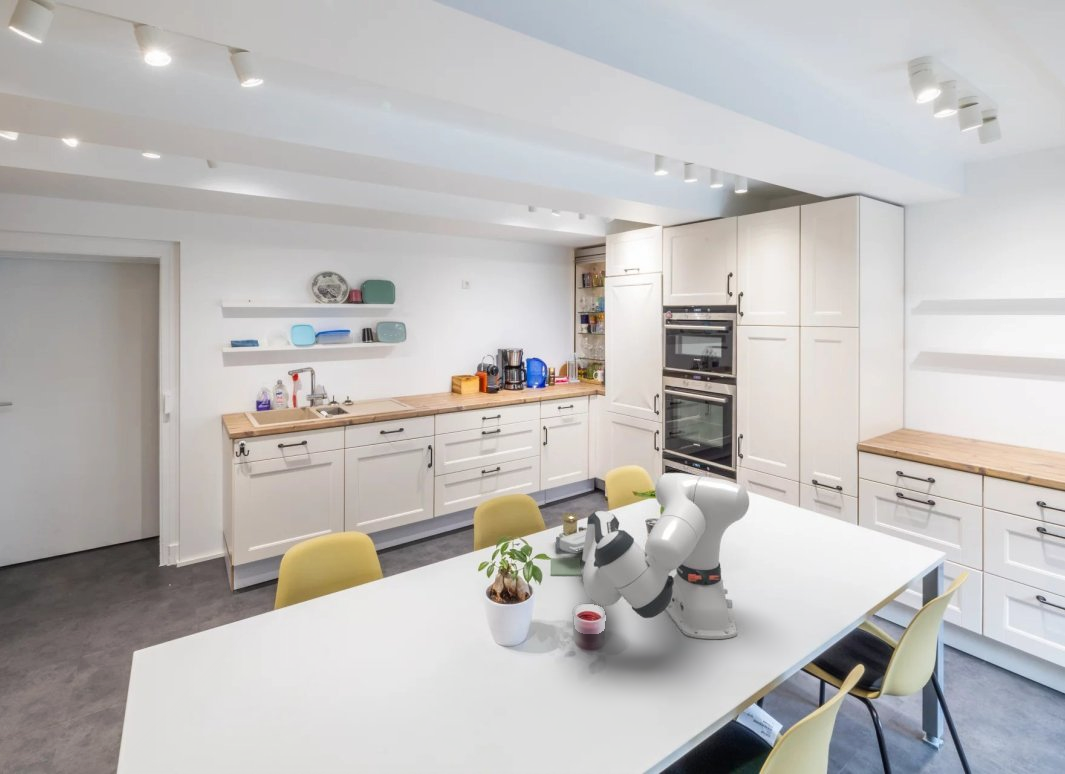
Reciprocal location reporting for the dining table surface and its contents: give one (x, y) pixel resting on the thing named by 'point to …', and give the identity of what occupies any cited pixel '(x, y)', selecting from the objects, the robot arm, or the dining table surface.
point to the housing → (559, 550)
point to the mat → (565, 567)
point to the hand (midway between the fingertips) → (570, 532)
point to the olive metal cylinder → (569, 523)
